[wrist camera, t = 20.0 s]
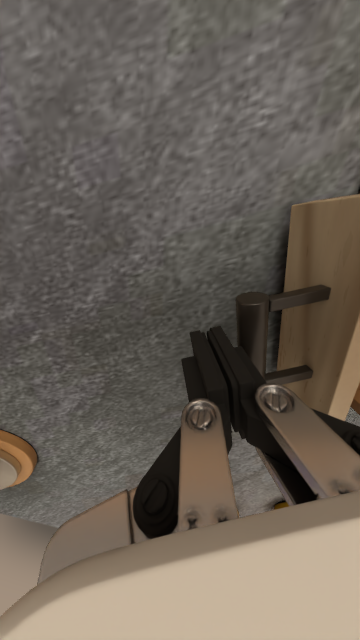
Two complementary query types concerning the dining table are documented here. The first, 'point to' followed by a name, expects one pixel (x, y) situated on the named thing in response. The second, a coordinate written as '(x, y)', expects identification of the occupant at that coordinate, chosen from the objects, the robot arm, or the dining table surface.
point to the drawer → (314, 309)
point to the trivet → (19, 454)
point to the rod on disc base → (8, 469)
